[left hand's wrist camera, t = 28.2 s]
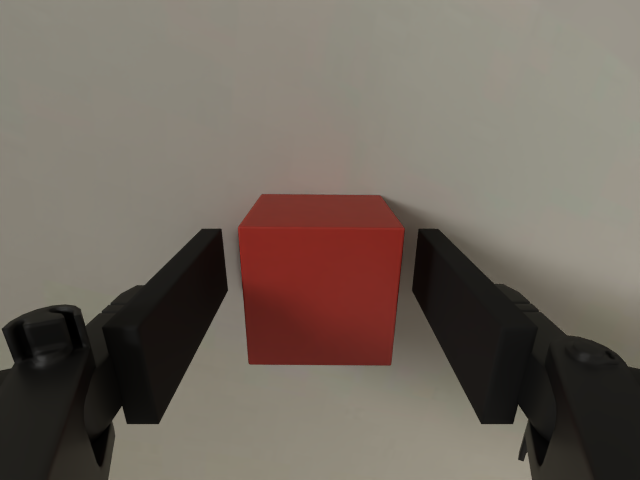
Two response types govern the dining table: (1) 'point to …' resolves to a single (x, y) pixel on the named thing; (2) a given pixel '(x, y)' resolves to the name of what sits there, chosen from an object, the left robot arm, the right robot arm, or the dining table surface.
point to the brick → (320, 279)
